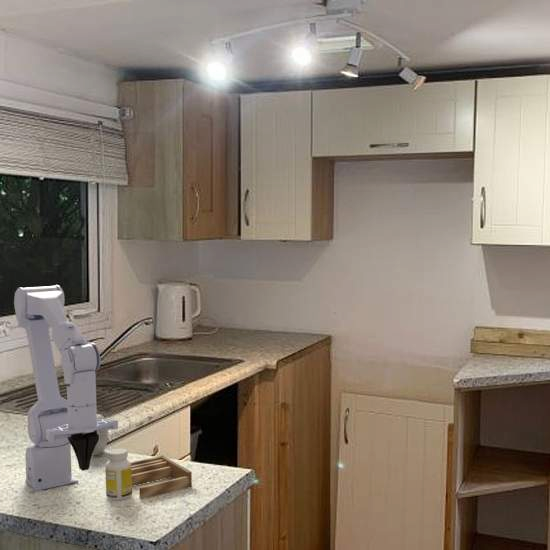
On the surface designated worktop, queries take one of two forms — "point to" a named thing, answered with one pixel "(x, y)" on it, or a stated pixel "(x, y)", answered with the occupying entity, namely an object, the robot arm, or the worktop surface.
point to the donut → (101, 439)
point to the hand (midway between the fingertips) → (84, 468)
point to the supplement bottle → (118, 475)
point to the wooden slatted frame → (159, 476)
